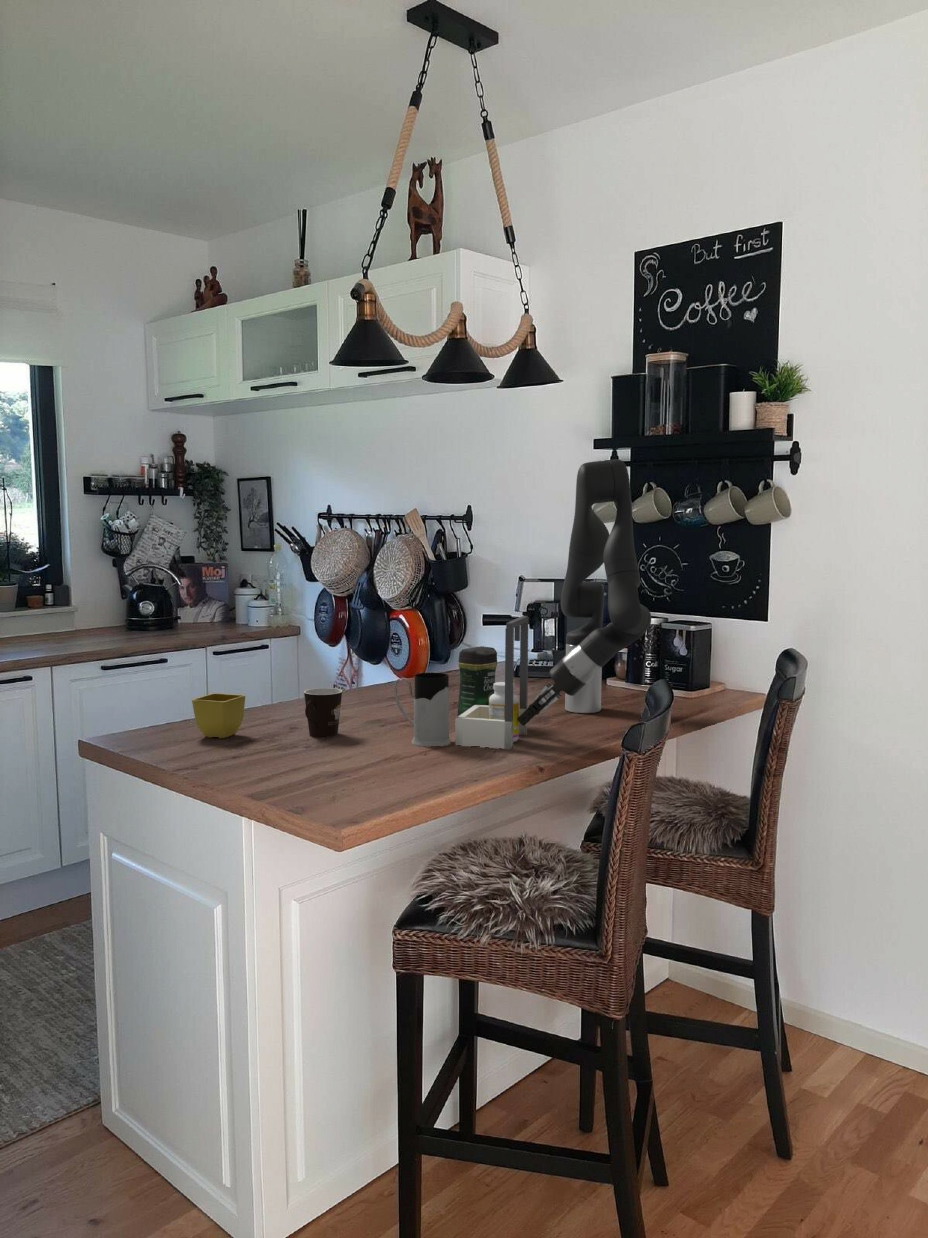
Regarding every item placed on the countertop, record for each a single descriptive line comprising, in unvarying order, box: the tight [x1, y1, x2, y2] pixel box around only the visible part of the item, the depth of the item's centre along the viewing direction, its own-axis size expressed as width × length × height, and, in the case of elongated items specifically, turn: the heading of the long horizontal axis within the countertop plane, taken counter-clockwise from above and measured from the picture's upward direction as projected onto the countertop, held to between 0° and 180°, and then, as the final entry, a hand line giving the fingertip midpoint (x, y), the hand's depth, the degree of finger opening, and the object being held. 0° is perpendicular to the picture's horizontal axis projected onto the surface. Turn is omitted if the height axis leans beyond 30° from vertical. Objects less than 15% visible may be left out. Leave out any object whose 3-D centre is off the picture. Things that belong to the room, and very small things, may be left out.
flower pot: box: [191, 692, 246, 739], centre depth 219 cm, size 9×9×9 cm
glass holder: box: [393, 672, 452, 748], centre depth 215 cm, size 9×14×15 cm, turn 59°
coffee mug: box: [303, 687, 343, 739], centre depth 220 cm, size 12×9×10 cm
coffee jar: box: [456, 646, 498, 718], centre depth 234 cm, size 10×8×19 cm
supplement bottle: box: [489, 681, 520, 743], centre depth 215 cm, size 7×7×13 cm
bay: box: [454, 615, 529, 750], centre depth 216 cm, size 16×12×27 cm
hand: (520, 722), depth 215 cm, fingers closed
